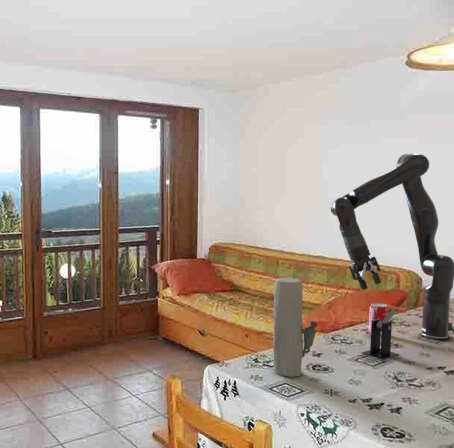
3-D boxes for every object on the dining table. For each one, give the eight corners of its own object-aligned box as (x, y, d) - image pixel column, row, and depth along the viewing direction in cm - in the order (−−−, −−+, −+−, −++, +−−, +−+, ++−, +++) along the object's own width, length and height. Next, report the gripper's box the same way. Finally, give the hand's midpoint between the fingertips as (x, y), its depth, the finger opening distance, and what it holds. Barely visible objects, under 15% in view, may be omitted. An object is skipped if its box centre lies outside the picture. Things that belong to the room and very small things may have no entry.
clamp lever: (388, 308, 183) (387, 303, 182) (407, 312, 177) (405, 307, 176) (371, 328, 178) (369, 323, 177) (389, 333, 172) (387, 328, 171)
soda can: (383, 334, 204) (385, 302, 203) (390, 339, 196) (391, 306, 195) (365, 333, 204) (367, 302, 203) (371, 338, 197) (373, 306, 196)
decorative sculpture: (316, 370, 161) (319, 279, 159) (315, 381, 152) (318, 284, 150) (272, 365, 165) (275, 276, 163) (269, 375, 156) (272, 281, 154)
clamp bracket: (377, 351, 182) (379, 316, 181) (398, 357, 175) (400, 321, 174) (361, 355, 176) (362, 320, 175) (382, 362, 170) (383, 325, 169)
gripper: (353, 248, 187) (368, 289, 185) (375, 240, 195) (390, 280, 192) (337, 252, 193) (352, 292, 191) (359, 245, 201) (374, 283, 199)
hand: (371, 286), depth 192 cm, fingers open, 8 cm apart
